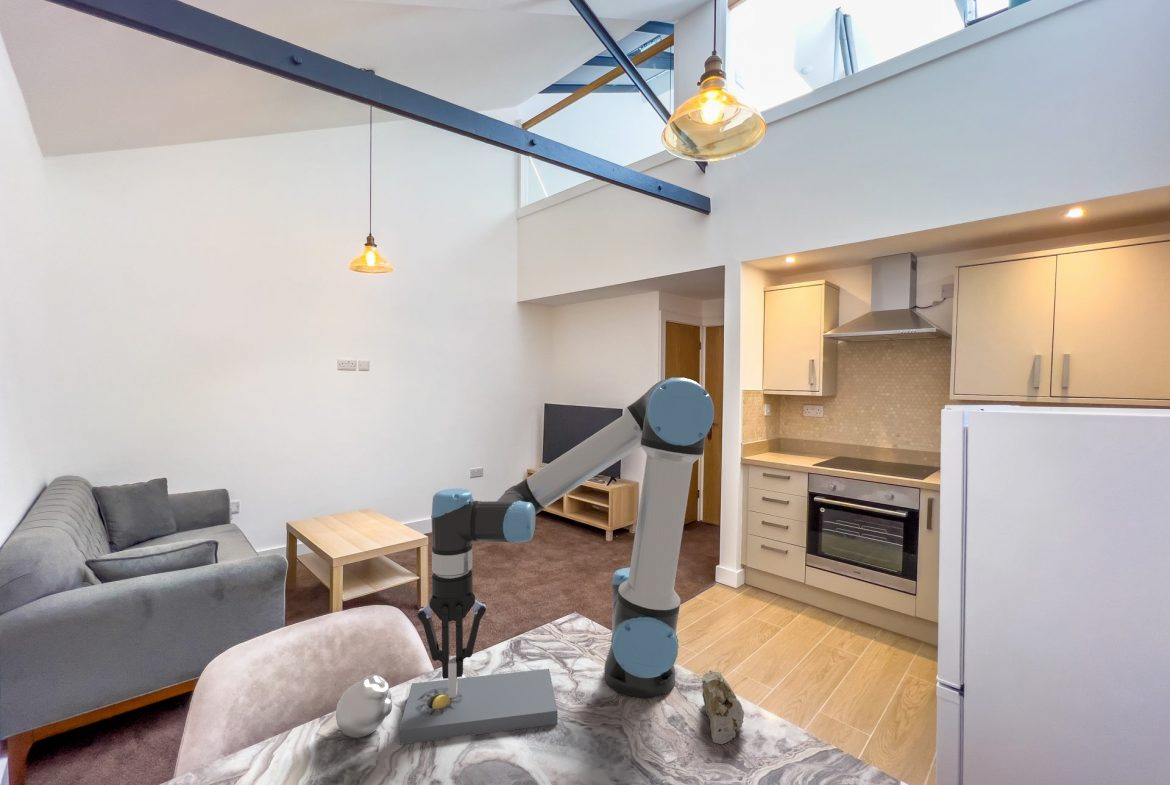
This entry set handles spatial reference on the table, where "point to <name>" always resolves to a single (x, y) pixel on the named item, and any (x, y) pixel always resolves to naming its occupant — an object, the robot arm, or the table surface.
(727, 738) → the rock
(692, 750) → the table surface
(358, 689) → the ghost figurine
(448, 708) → the grey flat block
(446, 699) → the ball
